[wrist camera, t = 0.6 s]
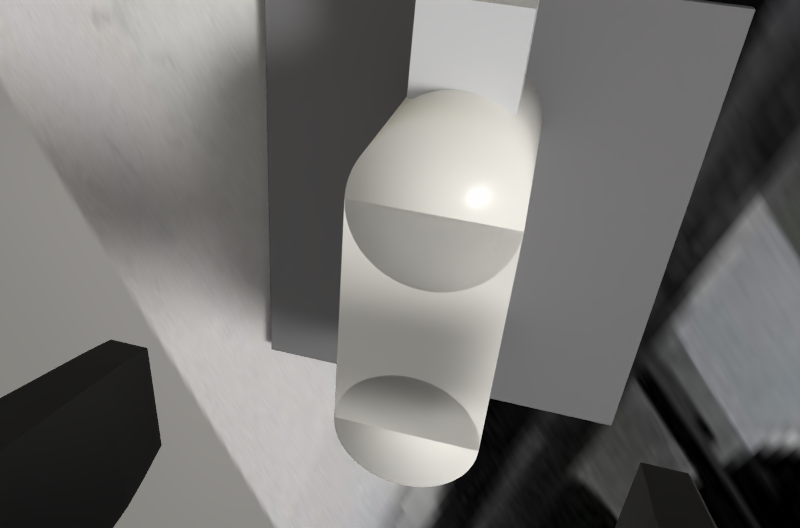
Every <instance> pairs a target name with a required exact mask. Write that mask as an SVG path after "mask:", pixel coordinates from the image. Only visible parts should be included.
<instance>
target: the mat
mask: <svg viewBox="0 0 800 528" xmlns="http://www.w3.org/2000/svg"><path fill="white" fill-rule="evenodd" d="M415 4H416V0H265V28H266V80H267V132H268V184H269V235H270V287H271V339H272V349H273V350H278V351H282V352H287V353H291V354H296V355H300V356H304V357H309V358H313V359H318V360H322V361H327V362H331V363H336V364H337V349H338V327H339V306H340V284H341V263H342V241H343V220H344V198H345V190H346V185H347V181H348V177H349V175H350V173H351V171H352V168H353V166H354V165H355V163H356V162H357V160H358V158H359V157H360V156H361V155H362V153H363V152H364V151H365V149H366V148H367V147H368V146H369V144H370V143H371V142H372V140H373V139H374V138H375V137H376V135H377V134H378V133H379V132H380V130H381V129H382V128H383V126H384V125H385V124H386V123H387V121H388V120H389V119H390V117H391V116H392V115H393V114H394V112H395V111H396V110H397V109H398V107H399V106H400V105H401V103H402V102H403V101H404V100H405V98H406V97H407V90H408V80H409V69H410V58H411V47H412V36H413V26H414V15H415ZM754 12H755V9H754V8H753V7H750V6H742V5H734V4H726V3H719V2H711V1H703V0H539V5H538V11H537V16H536V22H535V27H534V33H533V38H532V44H531V49H530V54H529V60H528V65H527V71H526V75H527V76H528V77H529V79H530V80H531V82H532V83H533V85H534V86H535V88H536V91H537V93H538V95H539V99H540V102H541V108H542V126H541V133H540V139H539V145H538V151H537V157H536V163H535V169H534V175H533V181H532V187H531V193H530V199H529V205H528V211H527V217H526V223H525V229H524V235H523V239H522V244H521V249H520V254H519V259H518V263H517V268H516V273H515V278H514V283H513V287H512V292H511V297H510V302H509V307H508V311H507V316H506V321H505V326H504V331H503V335H502V340H501V345H500V350H499V355H498V359H497V364H496V369H495V374H494V379H493V383H492V388H491V393H490V398H491V399H496V400H500V401H505V402H509V403H513V404H518V405H522V406H527V407H531V408H536V409H540V410H545V411H549V412H553V413H558V414H562V415H567V416H571V417H576V418H580V419H585V420H589V421H593V422H598V423H602V424H607V425H612V422H613V419H614V416H615V413H616V410H617V408H618V405H619V402H620V399H621V396H622V393H623V390H624V387H625V384H626V382H627V379H628V376H629V373H630V370H631V367H632V364H633V361H634V358H635V356H636V353H637V350H638V347H639V344H640V341H641V338H642V335H643V332H644V330H645V327H646V324H647V321H648V318H649V315H650V312H651V309H652V306H653V304H654V301H655V298H656V295H657V292H658V289H659V286H660V283H661V280H662V278H663V275H664V272H665V269H666V266H667V263H668V260H669V257H670V254H671V252H672V249H673V246H674V243H675V240H676V237H677V234H678V231H679V228H680V226H681V223H682V220H683V217H684V214H685V211H686V208H687V205H688V203H689V200H690V197H691V194H692V191H693V188H694V185H695V182H696V179H697V177H698V174H699V171H700V168H701V165H702V162H703V159H704V156H705V153H706V151H707V148H708V145H709V142H710V139H711V136H712V133H713V130H714V127H715V125H716V122H717V119H718V116H719V113H720V110H721V107H722V104H723V101H724V99H725V96H726V93H727V90H728V87H729V84H730V81H731V78H732V75H733V73H734V70H735V67H736V64H737V61H738V58H739V55H740V52H741V49H742V47H743V44H744V41H745V38H746V35H747V32H748V29H749V26H750V23H751V21H752V18H753V15H754Z"/></svg>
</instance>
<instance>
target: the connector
mask: <svg viewBox="0 0 800 528" xmlns="http://www.w3.org/2000/svg"><path fill="white" fill-rule="evenodd" d="M538 5H539V0H416V4H415V15H414V26H413V36H412V47H411V58H410V69H409V80H408V90H407V97H406V98H405V100H404V101H403V102H402V103H401V105H400V106H399V107H398V109H397V110H396V111H395V112H394V114H393V115H392V116H391V117H390V119H389V120H388V121H387V123H386V124H385V125H384V126H383V128H382V129H381V130H380V132H379V133H378V134H377V135H376V137H375V138H374V139H373V140H372V142H371V143H370V144H369V146H368V147H367V148H366V149H365V151H364V152H363V153H362V155H361V156H360V157H359V158H358V160H357V162H356V163H355V165H354V166H353V168H352V171H351V173H350V175H349V177H348V181H347V185H346V190H345V198H344V220H343V241H342V263H341V284H340V306H339V327H338V349H337V370H336V392H335V414H334V421H335V428H336V432H337V435H338V438H339V440H340V442H341V444H342V445H343V447H344V448H345V450H346V451H347V452H348V454H349V455H350V456H351V457H352V458H353V459H354V460H355V461H356V462H357V463H358V464H360V465H361V466H362V467H363V468H365V469H366V470H368V471H369V472H371V473H373V474H374V475H376V476H378V477H380V478H383V479H385V480H388V481H390V482H394V483H397V484H401V485H406V486H414V487H431V486H438V485H443V484H446V483H449V482H451V481H453V480H456V479H458V478H459V477H461V476H462V475H463V474H465V473H466V472H467V471H468V470H469V469H470V467H471V466H472V465H473V463H474V461H475V460H476V457H477V454H478V451H479V446H480V441H481V436H482V431H483V427H484V422H485V417H486V412H487V407H488V403H489V398H490V393H491V388H492V383H493V379H494V374H495V369H496V364H497V359H498V355H499V350H500V345H501V340H502V335H503V331H504V326H505V321H506V316H507V311H508V307H509V302H510V297H511V292H512V287H513V283H514V278H515V273H516V268H517V263H518V259H519V254H520V249H521V244H522V239H523V235H524V229H525V223H526V217H527V211H528V205H529V199H530V193H531V187H532V181H533V175H534V169H535V163H536V157H537V151H538V145H539V139H540V133H541V126H542V108H541V102H540V99H539V95H538V93H537V91H536V88H535V86H534V85H533V83H532V82H531V80H530V79H529V77H528V76H527V75H526V71H527V65H528V60H529V54H530V49H531V44H532V38H533V33H534V27H535V22H536V16H537V11H538Z"/></svg>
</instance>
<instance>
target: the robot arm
mask: <svg viewBox="0 0 800 528" xmlns="http://www.w3.org/2000/svg"><path fill="white" fill-rule="evenodd" d="M160 447H161V439H160V432H159V425H158V419H157V412H156V404H155V397H154V391H153V384H152V377H151V370H150V363H149V356H148V351H147V348H144V347H140V346H136V345H131V344H127V343H123V342H119V341H114V340H109V341H107V342H105V343H103V344H101V345H99V346H97V347H95V348H93V349H91V350H89V351H87V352H85V353H83V354H81V355H79V356H78V357H76V358H74V359H72V360H70V361H69V362H66V363H64V364H63V365H61V366H59V367H57V368H56V369H53V370H52V371H50V372H48V373H46V374H44V375H42V376H41V377H39V378H37V379H35V380H33V381H32V382H29V383H28V384H26V385H24V386H22V387H20V388H18V389H17V390H15V391H13V392H11V393H9V394H7V395H5V396H3V397H2V398H0V528H113V527H114V525H115V524H116V523H117V521H118V520H119V518H120V517H121V515H122V514H123V513H124V511H125V510H126V508H127V507H128V505H129V503H130V502H131V500H132V498H133V496H134V495H135V493H136V491H137V489H138V488H139V486H140V484H141V482H142V481H143V479H144V477H145V475H146V473H147V471H148V470H149V468H150V466H151V464H152V462H153V460H154V458H155V456H156V454H157V453H158V451H159V449H160ZM615 528H717V527H716V525H715V523H714V521H713V519H712V517H711V515H710V513H709V511H708V509H707V507H706V505H705V503H704V501H703V499H702V497H701V495H700V493H699V491H698V489H697V487H696V485H695V483H694V481H693V480H692V478H691V477H690V475H689V474H688V473H684V472H680V471H675V470H671V469H667V468H662V467H658V466H654V465H649V464H645V463H640V466H639V468H638V471H637V473H636V476H635V478H634V481H633V483H632V486H631V488H630V491H629V493H628V496H627V499H626V501H625V504H624V506H623V509H622V511H621V514H620V516H619V519H618V521H617V524H616V526H615Z"/></svg>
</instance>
